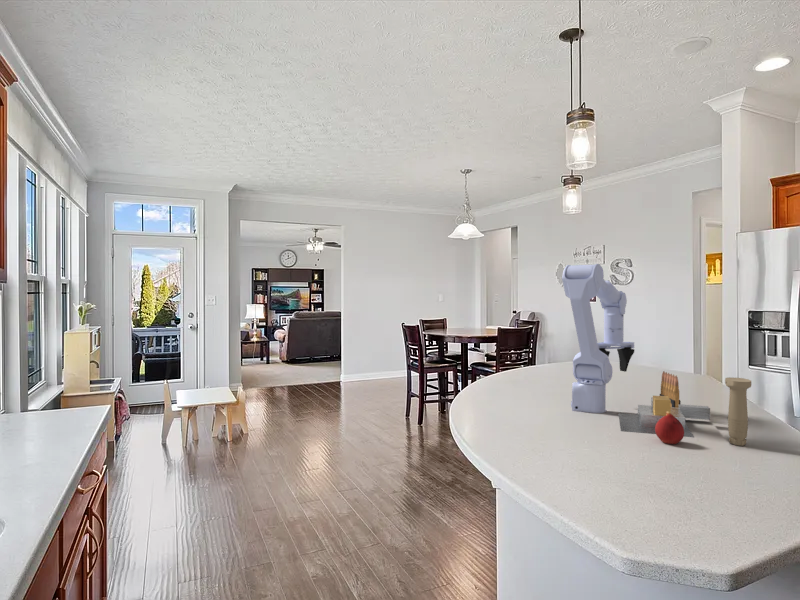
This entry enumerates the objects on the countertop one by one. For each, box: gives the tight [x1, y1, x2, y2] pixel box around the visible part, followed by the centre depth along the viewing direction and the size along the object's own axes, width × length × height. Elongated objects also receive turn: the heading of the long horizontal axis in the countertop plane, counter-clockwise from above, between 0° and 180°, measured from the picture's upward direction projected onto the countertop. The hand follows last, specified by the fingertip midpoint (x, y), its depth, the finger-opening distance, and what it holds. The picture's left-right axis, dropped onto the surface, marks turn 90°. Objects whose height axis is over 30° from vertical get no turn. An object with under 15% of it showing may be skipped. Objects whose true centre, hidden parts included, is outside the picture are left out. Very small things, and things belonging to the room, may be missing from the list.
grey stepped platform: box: [617, 396, 711, 438], centre depth 135 cm, size 22×21×6 cm
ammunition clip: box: [659, 370, 682, 408], centre depth 152 cm, size 11×2×12 cm, turn 174°
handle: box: [724, 377, 752, 447], centre depth 121 cm, size 5×6×15 cm
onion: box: [655, 412, 685, 445], centre depth 119 cm, size 6×6×8 cm
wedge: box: [652, 395, 671, 416], centre depth 136 cm, size 4×6×6 cm, turn 159°
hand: (613, 371), depth 166 cm, fingers open, 7 cm apart
